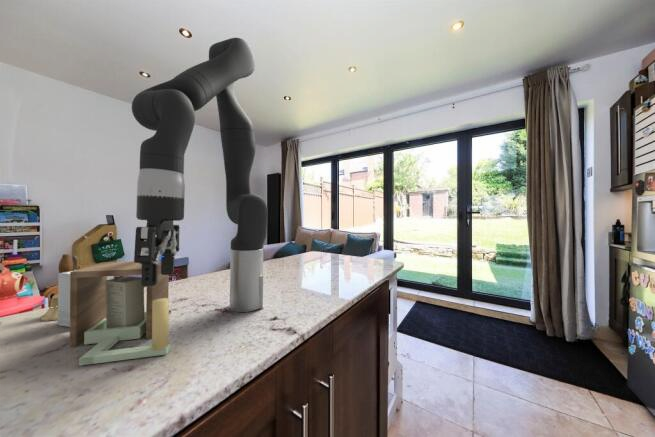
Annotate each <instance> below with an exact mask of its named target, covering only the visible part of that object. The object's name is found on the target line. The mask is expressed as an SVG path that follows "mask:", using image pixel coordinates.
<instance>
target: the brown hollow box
mask: <svg viewBox="0 0 655 437" xmlns="http://www.w3.org/2000/svg"><path fill="white" fill-rule="evenodd" d="M139 275H140V276H141V275H142V265H140V264H139V263H135V262H134V260H132V261H106V262H99V263H96V264H92V265H89V266H85V267H81V268H79V269H76V270H72V272H70V327H69V348H77V347H78V346H80V345H81V344H82V343H84V332H86V331H87V330H89V329H90V328H91V327H93V326H94V325H96V324H97V323H99V322H100V321H102V320H103V319H105V318H106V288H105V281H106V280H107V276H114V277H117V276H121V277H124V276H139ZM169 277H170V275H162V274H161V260H159V262H158V283H157V284H156V285H154V286H146V309H145V311H146V333H145V339H147V340H148V339H151V340H152V301H154V300H156V299H160V298H168V299H169V286H170V285H169V284H170V283H169V280H170V279H169Z"/></svg>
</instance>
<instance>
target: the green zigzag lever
mask: <svg viewBox="0 0 655 437" xmlns="http://www.w3.org/2000/svg"><path fill="white" fill-rule="evenodd" d="M169 310H170V298H169V297H168V298H160V299H156V300H154V301H152V338H151V345H144V346H135V347H127V348H118V349H111V348H112V347H114V346H115V345H117V343H118V342H119V341H128V340H129V341H130V340H135V339H139V340H140V339H141V338H142V337H143V336H144V335H146V310H144V320H143V321H142V322H141V323H140V324H139V325H138V326H128V327H118V328H108V329H107V328H106V318H105V319H103V320H102V321H100V322H99V323H97V324H96V325H94V326H93V327H91V328H90V329H89V330H87V331H86V332H84V341H83V343H84V345H90V344H96V345H94V346H93V347H92V348H90V349H89V350H88V351H87V352H85V353H84V354H83V355H82V356H81V357H80V358H79V359H78V366H87V365H95V364H103V363H110V362H118V361H126V360H132V359H141V358H148V357H155V356H163V355H164V356H165V355H167V354H168V352H169V351H170V348H171V347H170V346H171V345H170V344H171V343H170V342H169V327H170V326H169V325H170V324H169V321H170V320H169V316H170V313H169Z"/></svg>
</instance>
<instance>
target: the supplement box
mask: <svg viewBox="0 0 655 437" xmlns="http://www.w3.org/2000/svg"><path fill="white" fill-rule="evenodd" d="M72 271H73V270H72ZM72 271H70V272H72ZM70 272H64V273H59V272H58V274H57V276H58V278H57V279H58V280H57V285H58V286H57V287H58V288H57V294H58V320H57V326H61V327H62V326H63V327H66V328H67V327H68V328H70ZM111 279H115V276H107V280H111Z"/></svg>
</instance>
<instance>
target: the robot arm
mask: <svg viewBox="0 0 655 437" xmlns="http://www.w3.org/2000/svg"><path fill="white" fill-rule="evenodd" d="M255 68H256V58H255V55H254V52H253V50H252V47H251V46H250V44H248V42H247V41H246V40H244V39H243V38H240V37H231V38H228V39H225V40H222V41H218V42H216V43H213V44H212V45H211V46H210V47H209V49H208V60H206V61H203V62H200V63H198V64H196V65H193V66H191V67H188V68H187V69H185V70H183V71H182V72H180V73H179V74H178V75H176V76H174V77H173V78H172V79H170V80H167V81H164V82H162V83H159V84H157V85H153V86H151V87H149V88H146V89H144V90H141V91H140V92H139V93H137V94H136V95H135V96H134V98H133V100H132V102H131V112H132V115H133V117H134V119H135V120H136V121H137V123H138V124H139V125H140V126H142V127H144V128H145V129H148V130H151V131H155V133H154V134H153V136H151V137H149V138H147V139H145V140H142V142H141V145H140V151H139V172H138V175H137V176H138V177H137V184H136V185H137V187H136V215H135V216H136V219H137V220H140V221H146V225H145V226H137V227H136V228H135V235H134V236H135V238H134V252H133V253H134V254H133V255H134V256H133V261H134V262H135V263H139V264H140V265H142V275H140V277H141V285H142V286H144V287H147V286H154V285H156V284H157V283H158V262H159V261H161V274H162V275H169V276H171V275H173V274H174V273H175V259H176V258H175V257H176V256H177V253H178V252H180V230H181V229H180V225H179V224H174V221H183V220H184V218H185V194H186V193H185V191H186V186H185V185H186V184H185V175H184V174H185V173H184V172H185V154H186V150H187V148H188V146H189V142H190V140H191V137H192V133H193V130H194V126H195V121H196V115H195V112H197V111H198V110H201V109H202V108H203V107H205V106H206V105H207V104H208V103H209V102H210V101H211V100H213V98H215V97H216V104H217V112H218V120H219V131H220V132H219V133H220V140H221V141H220V142H221V150H222V157H223V165H224V172H225V183H226V184H225V185H226V186H225V187H226V190H225V193H226V194H225V200H226V201H225V204H226V205H225V206H226V214H227V217H228V218H229V220H230V221H231V223H234V224H235V225H237V232H236V235H235V236H234V237H233V238H232V239H231V240H230V254H229V256H230V259H229V261H230V264H229V268H230V269H229V270H230V271H229V309H230V310H231V311H232V312H236V313H237V312H238V313H248V312H252V311H256V310H260V309H263V308H264V306H263V305H264V244H265V241H266V239H267V230H268V206H267V203H266V201H265V199H264V198H263V197H262V196H260V195H259V194H255V193H254V194H253V193H252V192H251V184H250V183H251V182H250V179H251V178H250V177H251V171H252V167H253V165H254V164H253V163H254V160H255V155H256V138H255V137H256V136H255V128H254V125H253V122H252V120H251V119H250V118H249V116H248V114H247V113H246V112H245V110H244V108H242V106H241V105H240V104H239V101H238V100H237V95H236V92H235V87H234V86H235V85H234V84H235V82H237V81H238V80H241V79H245V78H248V77H249V76H251V75H252V74H253V73H254V71H255ZM160 257H161V260H160Z"/></svg>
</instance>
